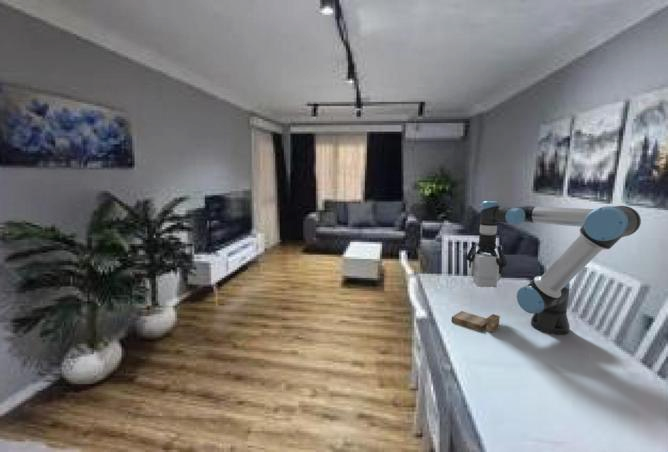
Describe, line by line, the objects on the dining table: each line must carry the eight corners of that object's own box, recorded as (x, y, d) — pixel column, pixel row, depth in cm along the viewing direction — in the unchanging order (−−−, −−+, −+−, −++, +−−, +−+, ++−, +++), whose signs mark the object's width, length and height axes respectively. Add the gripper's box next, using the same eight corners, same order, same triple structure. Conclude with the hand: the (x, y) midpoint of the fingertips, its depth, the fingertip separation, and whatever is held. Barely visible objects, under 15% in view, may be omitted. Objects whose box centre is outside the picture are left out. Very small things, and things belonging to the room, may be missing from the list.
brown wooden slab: (490, 325, 169) (490, 319, 168) (481, 332, 162) (481, 325, 161) (461, 316, 178) (461, 311, 178) (451, 322, 171) (451, 316, 171)
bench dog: (498, 328, 164) (499, 316, 163) (492, 332, 160) (493, 319, 159) (491, 326, 166) (493, 314, 166) (486, 330, 162) (487, 317, 161)
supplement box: (490, 282, 183) (493, 252, 180) (496, 287, 174) (499, 256, 172) (472, 281, 183) (474, 252, 181) (477, 286, 175) (479, 256, 172)
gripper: (517, 236, 169) (513, 281, 172) (467, 229, 186) (464, 270, 189) (511, 238, 164) (507, 284, 167) (460, 231, 181) (457, 273, 184)
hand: (484, 277), depth 178 cm, fingers closed on supplement box, 12 cm apart
